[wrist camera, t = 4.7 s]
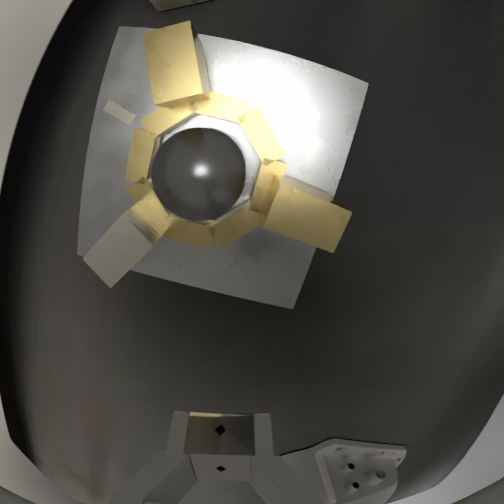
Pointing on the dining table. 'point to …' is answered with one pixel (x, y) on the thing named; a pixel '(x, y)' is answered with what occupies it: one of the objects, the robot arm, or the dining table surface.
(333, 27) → the dining table surface
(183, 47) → the ring nut
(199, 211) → the housing
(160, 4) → the skincare box
